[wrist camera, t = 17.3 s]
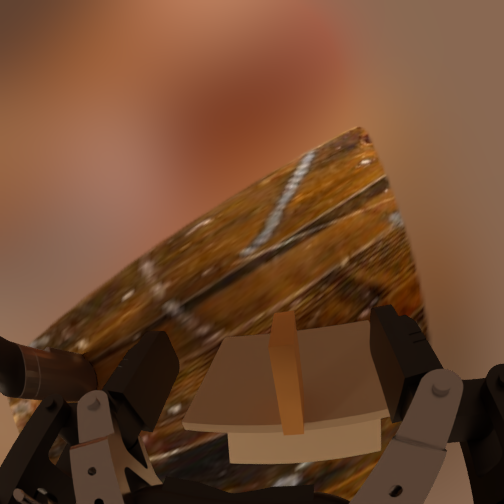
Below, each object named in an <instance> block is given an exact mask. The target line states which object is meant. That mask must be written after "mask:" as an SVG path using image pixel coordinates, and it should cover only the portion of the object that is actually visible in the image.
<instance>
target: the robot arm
mask: <svg viewBox="0 0 504 504" xmlns="http://www.w3.org/2000/svg"><path fill="white" fill-rule="evenodd" d="M369 343H370V352H371V356H372V359H373V362H374V365H375V368H376V371H377V374H378V377H379V381H380V384H381V387H382V390H383V394H384V397H385V400H386V404H387V407H388V411H389V414H390V418H391V421H392V423H395V422H399V421H402V424H401V425H400V427H399V429H398V431H397V433H396V435H395V436H394V437H393V438H392V440H391V441H390V443H389V445H388V446H387V448H386V450H385V451H384V453H383V455H382V456H381V458H380V460H379V461H378V463H377V464H376V466H375V468H374V469H373V471H372V472H371V474H370V475H369V477H368V478H367V480H366V481H365V483H364V484H363V485H362V487H361V488H360V490H359V491H358V492H357V494H356V495H355V496H354V498H353V499H352V500H351V501H348V500H346V499H343V498H341V497H338V496H335V495H332V494H327V493H322V492H314V485H302V486H283V487H270V488H265V489H260V490H255V491H249V492H243V493H235V494H234V493H228V492H225V491H222V490H219V489H216V488H213V487H210V486H208V485H205V484H202V483H199V482H195V481H189V480H183V479H177V478H172V477H167V476H166V478H165V481H164V484H162V482H161V481H160V480H159V479H158V477H157V476H156V474H155V472H154V470H153V468H152V465H151V462H150V460H149V457H148V454H147V452H146V449H145V446H144V443H143V440H142V438H141V437H140V435H139V434H140V432H141V430H143V431H148V432H153V430H154V428H155V425H156V423H157V421H158V418H159V416H160V414H161V412H162V409H163V407H164V405H165V402H166V400H167V398H168V396H169V393H170V391H171V389H172V386H173V384H174V382H175V380H176V377H177V375H178V373H179V360H178V357H177V355H176V353H175V351H174V349H173V347H172V344H171V342H170V340H169V338H168V336H167V334H166V333H165V332H164V331H147V332H146V333H145V334H144V335H143V337H142V338H141V340H140V341H139V342H138V343H137V344H136V345H135V346H133V347H132V348H131V349H130V350H128V352H127V353H126V355H125V356H124V358H123V360H122V361H121V362H120V364H119V365H118V367H117V368H116V369H115V371H114V372H113V374H112V375H111V377H110V378H109V380H108V381H107V383H106V384H105V386H104V387H103V389H102V390H96V387H97V380H96V374H95V371H94V369H93V367H92V365H91V364H90V363H89V362H88V361H87V360H86V359H84V357H83V355H82V354H79V353H74V352H69V351H64V350H60V349H55V348H51V347H47V348H46V349H45V350H40V349H36V348H32V347H28V346H24V345H20V344H17V343H14V342H10V341H8V340H6V339H4V338H2V337H1V336H0V392H1V393H2V394H3V395H5V396H7V397H14V398H23V399H34V400H42V402H41V403H40V405H39V406H38V407H37V409H36V410H35V412H34V413H33V415H32V416H31V418H30V419H29V421H28V422H27V424H26V425H25V427H24V428H23V430H22V432H21V433H20V435H19V436H18V438H17V440H16V441H15V443H14V444H13V446H12V448H11V450H10V451H9V453H8V455H7V456H6V458H5V460H4V462H3V463H2V465H1V467H0V504H75V503H76V502H77V504H423V503H424V501H425V499H426V497H427V495H428V493H429V491H430V490H431V488H432V486H433V484H434V481H435V479H436V477H437V475H438V473H439V471H440V468H441V466H442V464H443V461H444V459H445V456H446V452H447V450H445V447H446V444H447V443H451V442H460V445H461V448H462V452H463V456H464V459H465V463H466V467H467V471H468V476H469V480H470V485H471V490H472V495H473V501H474V504H504V364H499V365H496V366H494V367H493V368H491V369H490V370H489V372H488V374H487V376H486V378H482V379H472V380H461V378H460V377H459V376H458V375H457V374H456V373H455V372H453V371H451V370H446V369H443V367H442V365H441V363H440V361H439V360H438V358H437V356H436V354H435V353H434V351H433V349H432V348H431V346H430V344H429V343H428V341H427V340H426V338H425V336H424V334H423V333H422V332H421V329H420V328H419V326H418V325H417V323H416V322H415V321H414V320H413V319H411V318H410V317H408V316H407V315H403V316H398V315H397V313H396V311H395V309H394V308H393V306H392V305H391V304H390V305H385V306H380V307H375V308H372V309H371V316H370V340H369ZM66 401H70V402H78V403H67V402H66ZM58 434H59V435H60V437H61V438H62V439H63V440H65V441H66V442H67V445H66V446H65V448H64V450H63V452H62V454H61V456H60V458H59V460H58V462H57V464H56V466H55V465H54V464H53V463H52V462H51V461H50V460H49V457H48V453H49V450H50V448H51V446H52V445H53V443H54V441H55V439H56V437H57V436H58Z"/></svg>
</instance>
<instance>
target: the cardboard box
mask: <svg viewBox="0 0 504 504" xmlns="http://www.w3.org/2000/svg"><path fill="white" fill-rule="evenodd" d="M228 443H229V456H230V463H240V464H284V463H301V462H313V461H322V460H331V459H338V458H344V457H350V456H356V455H361V454H366V453H371V452H376V451H380V450H381V420H380V419H376V420H371V421H366V422H361V423H356V424H350V425H344V426H338V427H331V428H324V429H315V430H305V431H304V434H299V435H284V434H283V432H276V433H228Z"/></svg>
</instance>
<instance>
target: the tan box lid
mask: <svg viewBox="0 0 504 504" xmlns="http://www.w3.org/2000/svg"><path fill="white" fill-rule="evenodd" d="M369 340H370V323H369V321H368V320H365V321H359V322H353V323H347V324H341V325H335V326H328V327H321V328H314V329H306V330H298V331H297V328H296V320H295V312H294V311H287V312H279V313H274V317H273V323H272V328H271V334H261V335H249V336H236V337H225V338H224V340H223V342H222V344H221V346H220V348H219V350H218V352H217V354H216V356H215V358H214V360H213V362H212V364H211V366H210V368H209V370H208V372H207V374H206V376H205V378H204V380H203V382H202V384H201V386H200V388H199V389H198V391H197V393H196V395H195V397H194V399H193V401H192V403H191V405H190V407H189V409H188V411H187V413H186V415H185V417H184V419H183V421H182V424H183V426H184V428H185V430H194V431H206V432H223V433H276V432H283V434H284V435H299V434H304V431H305V430H315V429H324V428H331V427H338V426H344V425H350V424H356V423H361V422H366V421H371V420H376V419H380V418H385V417H389V416H390V414H389V411H388V407H387V404H386V400H385V397H384V394H383V390H382V387H381V384H380V381H379V377H378V374H377V371H376V368H375V365H374V362H373V359H372V356H371V352H370V343H369Z"/></svg>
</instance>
